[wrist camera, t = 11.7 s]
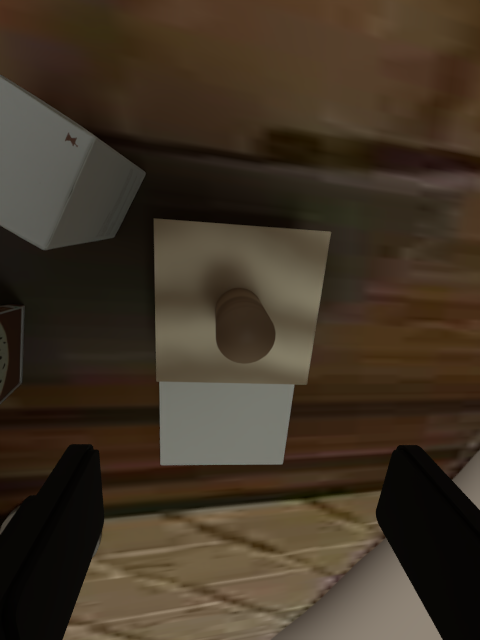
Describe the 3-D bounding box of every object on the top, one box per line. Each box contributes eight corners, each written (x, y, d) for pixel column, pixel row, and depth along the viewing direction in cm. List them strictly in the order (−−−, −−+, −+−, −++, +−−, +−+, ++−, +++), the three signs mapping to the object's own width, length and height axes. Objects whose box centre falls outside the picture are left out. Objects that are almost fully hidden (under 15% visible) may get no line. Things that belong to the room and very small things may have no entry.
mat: (281, 460, 40) (282, 464, 39) (161, 461, 38) (160, 465, 38) (297, 352, 35) (298, 355, 35) (159, 348, 34) (159, 350, 33)
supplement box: (73, 122, 26) (-46, 38, 14) (148, 173, 28) (100, 137, 16) (40, 197, 28) (-91, 178, 16) (113, 241, 30) (45, 253, 18)
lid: (304, 380, 29) (329, 425, 22) (157, 377, 28) (140, 424, 21) (327, 231, 25) (367, 234, 18) (155, 218, 23) (133, 217, 17)
